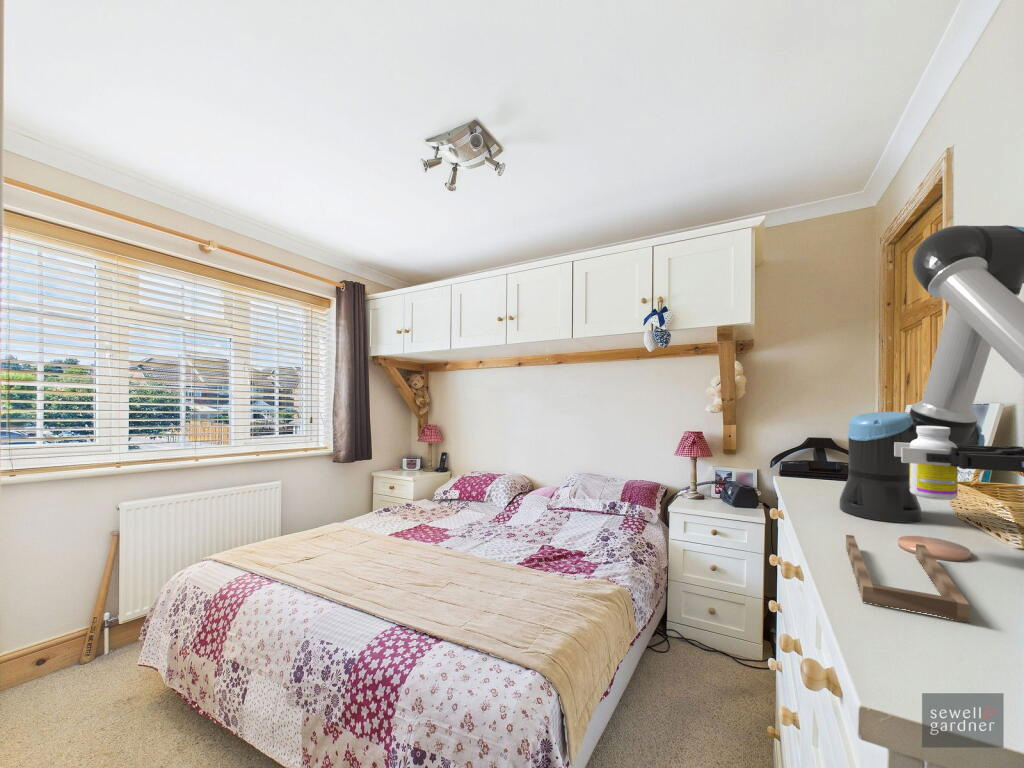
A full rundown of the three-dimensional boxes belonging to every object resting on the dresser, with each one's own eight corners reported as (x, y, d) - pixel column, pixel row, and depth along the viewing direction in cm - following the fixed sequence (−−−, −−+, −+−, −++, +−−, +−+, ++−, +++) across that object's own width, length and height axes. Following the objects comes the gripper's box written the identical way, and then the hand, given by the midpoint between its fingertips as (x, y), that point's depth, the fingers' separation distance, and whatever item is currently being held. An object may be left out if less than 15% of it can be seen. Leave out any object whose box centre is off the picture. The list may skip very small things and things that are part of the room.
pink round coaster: (893, 537, 95) (893, 532, 95) (960, 546, 90) (960, 541, 90) (903, 554, 86) (903, 549, 86) (978, 565, 81) (978, 559, 81)
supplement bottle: (967, 501, 84) (967, 429, 83) (923, 500, 85) (924, 428, 85) (941, 492, 90) (941, 425, 90) (901, 491, 91) (901, 424, 91)
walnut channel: (846, 547, 90) (846, 534, 90) (924, 559, 84) (924, 545, 84) (862, 602, 68) (862, 585, 68) (969, 623, 63) (969, 604, 63)
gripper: (1109, 498, 70) (908, 482, 82) (1048, 473, 87) (889, 463, 98) (1110, 447, 70) (908, 438, 82) (1048, 432, 86) (889, 427, 98)
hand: (898, 452), depth 90 cm, fingers closed on supplement bottle, 7 cm apart
